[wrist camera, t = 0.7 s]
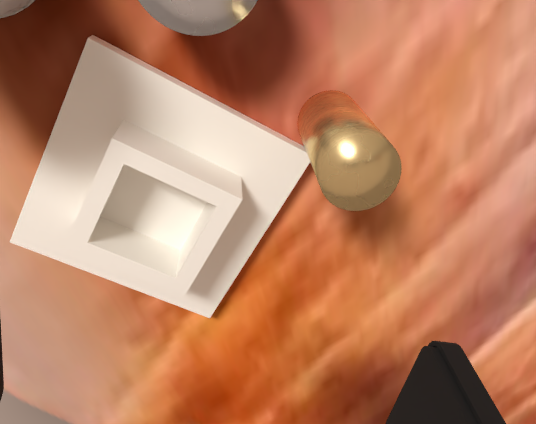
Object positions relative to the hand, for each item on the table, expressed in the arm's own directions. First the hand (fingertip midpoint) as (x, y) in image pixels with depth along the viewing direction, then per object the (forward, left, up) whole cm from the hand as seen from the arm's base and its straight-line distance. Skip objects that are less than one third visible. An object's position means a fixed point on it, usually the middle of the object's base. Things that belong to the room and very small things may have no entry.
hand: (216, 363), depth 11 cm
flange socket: (+1, +9, -24) cm, 26 cm away
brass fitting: (-7, -2, -24) cm, 25 cm away
